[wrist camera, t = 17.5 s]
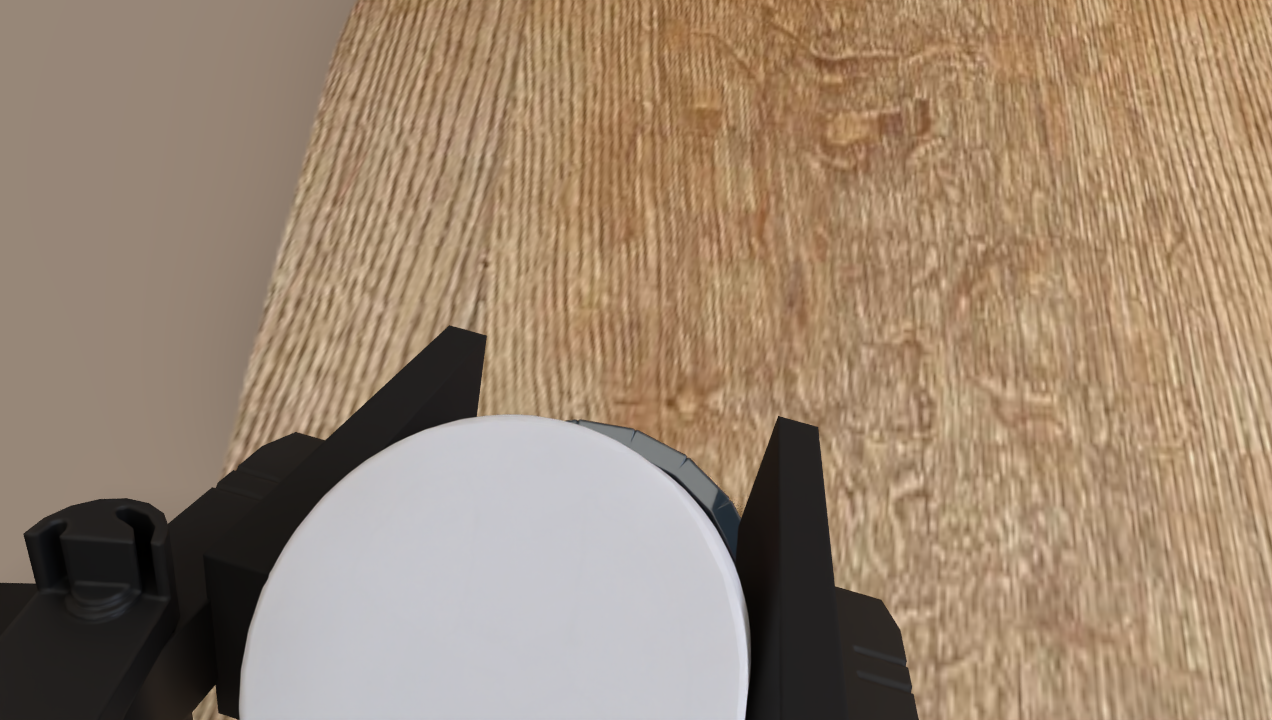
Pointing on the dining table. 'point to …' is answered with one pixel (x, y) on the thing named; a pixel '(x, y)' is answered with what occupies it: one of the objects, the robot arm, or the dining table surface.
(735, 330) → the dining table surface
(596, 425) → the tube
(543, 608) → the pill bottle
